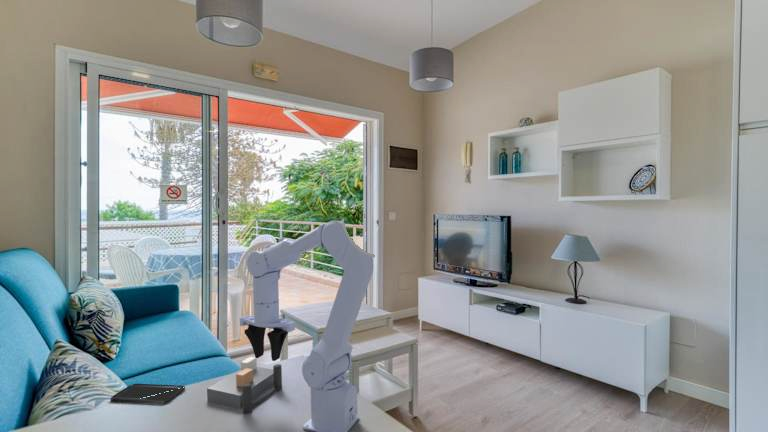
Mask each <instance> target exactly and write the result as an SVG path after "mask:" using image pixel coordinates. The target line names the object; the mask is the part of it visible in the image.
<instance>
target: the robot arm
mask: <svg viewBox="0 0 768 432" xmlns="http://www.w3.org/2000/svg"><path fill="white" fill-rule="evenodd" d="M277 240H278V242H276V243H275V244H273V245H271V244H270V245H267V246H265V249H264V250H262V251H258V250H255V251H254V250H253V251H252V252H251V253H250V254H249V255H248V257H247V259H246V267H247V270H248V273H249V275H251V276H252V289H253V290H252V292H253V293H252V294H253V295H252V297H253V301H252V302H253V315H243V316H241V317H239V326H242V327H244V326H247V328H246V329H244V335H245V336H246V338H247V339H248V340H249V343H250V345H251V347H252V350H253V354H254V357H255V358H256V359H259V358H260V357H262V356H264V353H265V352H264V351H265V335H267V338H268V341H269V344H270V355H271V356H270V357H271V360H272V362H273V361H274V362H276V361H278V360H279V359H280V358H281V354H282V349H283V346H284V342H285V340H286V338H287V335H288V334H289V333H291V332H293V331H295V330H296V321H293V320H289V319H285V318H284V317H283V318H282V317H281V315H280V302H279V301H280V300H279V295H280V294H279V280H280V278H281V272H282V270H283V269H284V268H286V267H288V266H291V265H293V264H296V263H298V262H299V261H300V260H301V258H302V254H304V253H306V252H309V251H312V250H313V249H317V248H319V247H320V248H325V251H327V253H328V254H329V255H330V256H331V258H333V260H334V261H335V263H336V264H337V265H338V266H339V267H340V268H342V270H343V274H342V277H341V281H340V283H339V285H338V290H337V292H336V295H335V298H334V302H333V305H332V307H331V309H330V310H331V311H330V313H329V316H328V320H327V321H326V322H327V323H326V324H325V325H326V326H325V328H324V331H323V334H322V338H321V339H320V340H318V343H317V344H316V345H315V346H314V347H313V348H312V349H311V351H310V354H309V356H308V357H307V358H306V359H305V360H304V361H303V363H302V366H301V372H302V376H303V379H304V381H305V382H306V384H307V385H308V387H309V388H310V419H308V420H307V421H306V422H305V423H304V424H303V426H302V429H304V430H308V431H312V432H349V431H350V429H351V428H353V426H354V425H355V423H356V422H357V421H358V420H359V418H360V415H358V389H357V386H355V385H354V384H351V383H349V382H348V381H346V380H345V379H346V377H347V372H348V371H349V369H350V368H351V365H352V351H353V349H354V348H353V345H352V344H351V343H350V338H351V335H352V333H353V330H354V326H355V324H356V321H357V318H358V316H359V314H360V313H359V312H360V309H361V307H362V304H363V301H364V298H365V296H366V292H367V289H368V287H369V283H370V281H371V278H372V275H373V272H374V256H373V255H369V254H367V253H365V252H363V251H362V250H360V249H359V248H358V247H357V246H355V245H354V243H353V242H352V241H351V240H350V238H349V237H348V235H347V233H346V231H345V227H344V224H343V220H330V221H328V222H326V223H323V224H319V225H318V226H317V227H315V228H314V229H311V230H310V231H309V232H307V233H305V234H303V235H301V236H300V237H298V238H297V239H293V238H291V237H290V238H289V237H281V238H279V239H277ZM266 329H272V330H271V331H269V332H267V333H266Z"/></svg>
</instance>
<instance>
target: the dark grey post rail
mask: <svg viewBox="0 0 768 432" xmlns="http://www.w3.org/2000/svg"><path fill="white" fill-rule="evenodd" d="M272 369H273V377H274V385H273V388H272V389H270V390H269V391H267V392H266V393H264V394H263V395H262V396H260V397H258V399H256V400H255V401H253V400H252V385H251V384H250V383H247V384H244V385H242V399H243V407H242V414H244V415H248V414H251V413H253V408H255V407H257V406H258V405H260V404H261V403H262V402H263V401H265V400H267V398H269V397H271V395H273V394H274V393H276V392H279V391H282V390H283V379H282V378H283V375H282V374H283V372H282V364H279V363H277V364H274V365H273V368H272Z"/></svg>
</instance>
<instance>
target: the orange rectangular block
mask: <svg viewBox="0 0 768 432" xmlns="http://www.w3.org/2000/svg"><path fill="white" fill-rule="evenodd" d="M252 381H253V369H249V368H246V369H244V370H242V371H241V372H239V373H237V374H236V386H239V387H242V385H244V384H247V383H251V382H252Z"/></svg>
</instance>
